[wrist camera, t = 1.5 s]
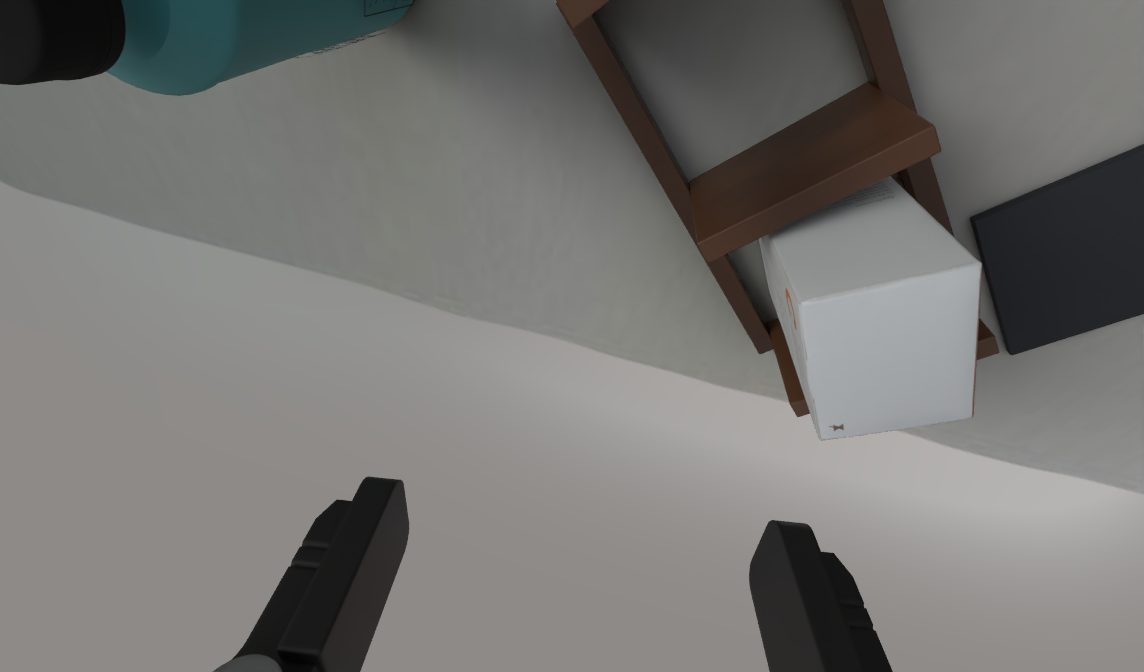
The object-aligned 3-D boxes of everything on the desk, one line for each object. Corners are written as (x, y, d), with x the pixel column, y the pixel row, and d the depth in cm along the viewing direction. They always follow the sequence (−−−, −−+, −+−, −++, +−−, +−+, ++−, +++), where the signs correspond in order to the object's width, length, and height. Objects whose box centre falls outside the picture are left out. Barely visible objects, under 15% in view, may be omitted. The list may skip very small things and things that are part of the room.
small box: (874, 270, 33) (976, 422, 22) (768, 295, 35) (816, 445, 24) (866, 145, 28) (987, 261, 18) (746, 181, 30) (793, 305, 20)
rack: (811, -203, 21) (878, -265, 15) (954, 263, 32) (1029, 344, 25) (559, 0, 26) (529, 19, 20) (756, 341, 37) (776, 424, 31)
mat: (1228, 107, 25) (1239, 111, 25) (1229, 279, 30) (1238, 284, 30) (969, 217, 30) (974, 221, 30) (1006, 350, 35) (1010, 355, 34)
